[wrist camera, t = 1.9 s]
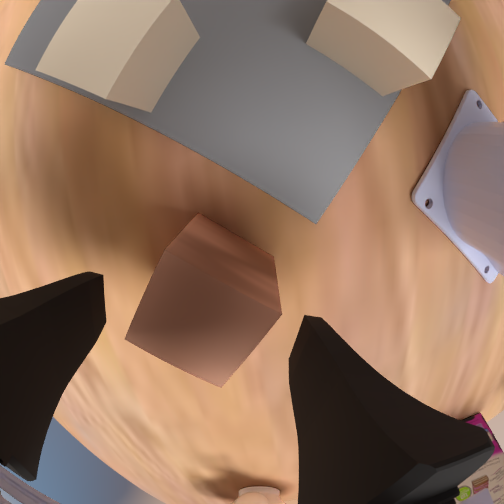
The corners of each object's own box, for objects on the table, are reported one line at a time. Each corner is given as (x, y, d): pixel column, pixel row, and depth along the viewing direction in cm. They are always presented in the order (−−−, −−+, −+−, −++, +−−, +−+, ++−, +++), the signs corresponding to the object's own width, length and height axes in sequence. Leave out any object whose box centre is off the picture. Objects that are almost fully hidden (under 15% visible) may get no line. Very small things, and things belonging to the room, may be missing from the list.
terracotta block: (273, 256, 13) (282, 314, 8) (231, 317, 14) (221, 387, 10) (198, 212, 13) (164, 249, 8) (163, 280, 14) (124, 339, 9)
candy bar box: (390, 459, 21) (421, 574, 6) (408, 436, 19) (451, 566, 4) (462, 435, 21) (502, 526, 6) (482, 410, 19) (531, 507, 4)
